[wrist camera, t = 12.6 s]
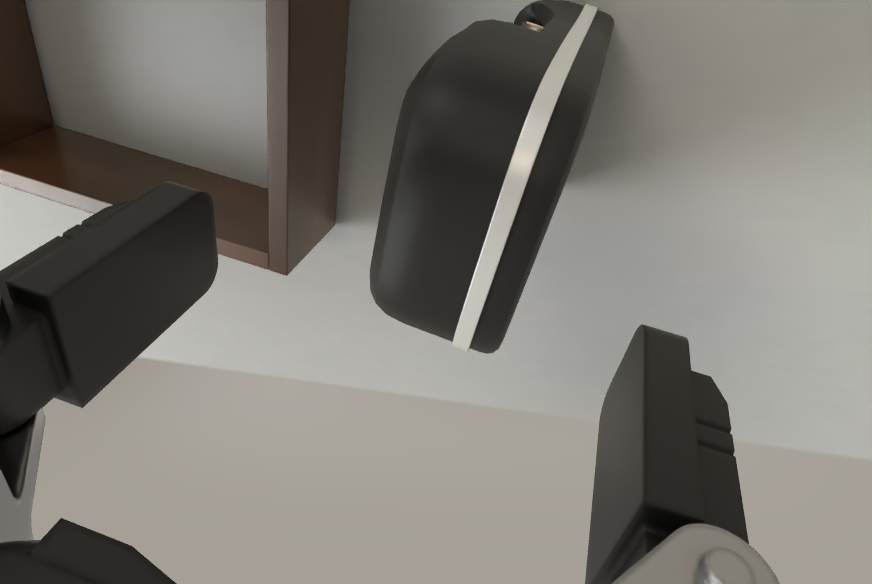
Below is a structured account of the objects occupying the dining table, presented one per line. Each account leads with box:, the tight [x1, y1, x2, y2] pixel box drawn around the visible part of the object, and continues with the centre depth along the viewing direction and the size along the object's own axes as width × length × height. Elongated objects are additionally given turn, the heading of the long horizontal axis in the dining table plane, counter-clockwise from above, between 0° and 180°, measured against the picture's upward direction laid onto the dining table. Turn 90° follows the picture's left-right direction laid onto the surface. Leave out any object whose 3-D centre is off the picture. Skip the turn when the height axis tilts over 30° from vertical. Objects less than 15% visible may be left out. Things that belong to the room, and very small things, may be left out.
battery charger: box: [370, 0, 614, 353], centre depth 17 cm, size 7×4×11 cm, turn 165°
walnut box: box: [0, 0, 349, 275], centre depth 22 cm, size 16×14×4 cm
